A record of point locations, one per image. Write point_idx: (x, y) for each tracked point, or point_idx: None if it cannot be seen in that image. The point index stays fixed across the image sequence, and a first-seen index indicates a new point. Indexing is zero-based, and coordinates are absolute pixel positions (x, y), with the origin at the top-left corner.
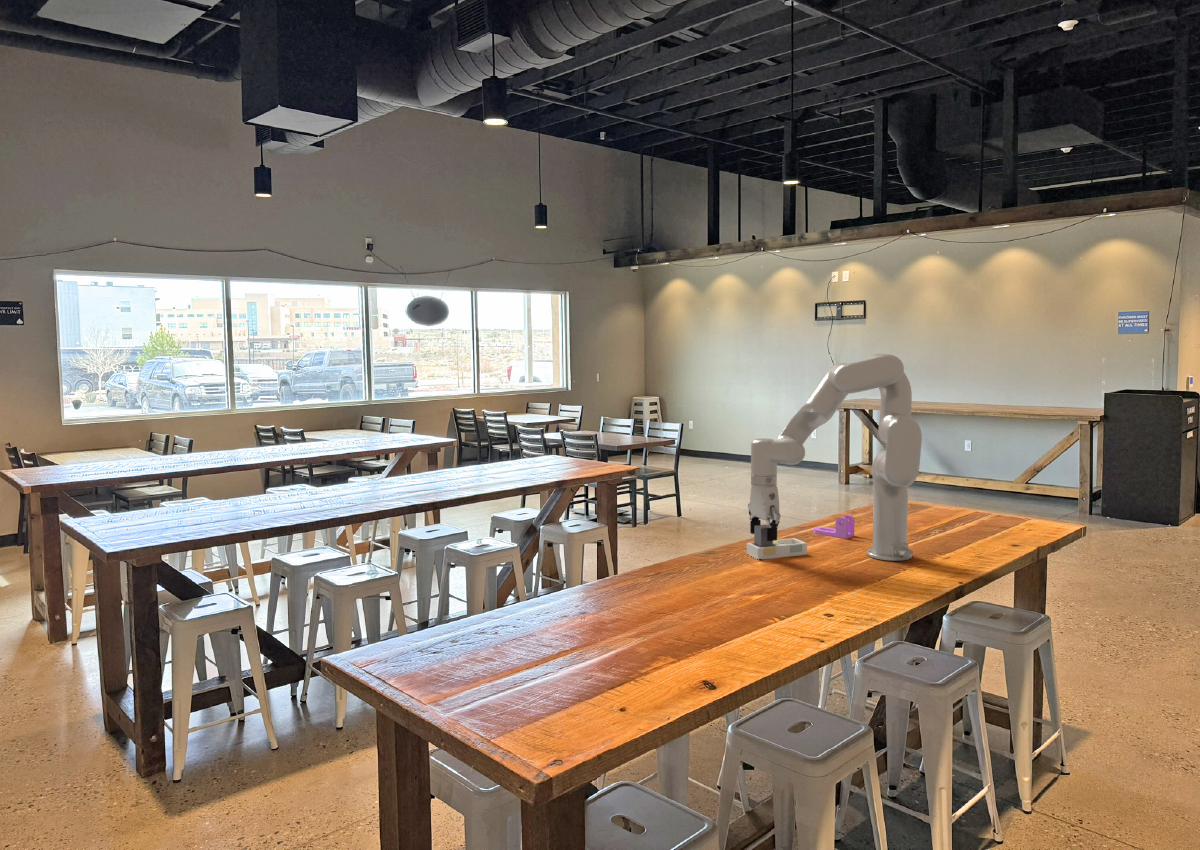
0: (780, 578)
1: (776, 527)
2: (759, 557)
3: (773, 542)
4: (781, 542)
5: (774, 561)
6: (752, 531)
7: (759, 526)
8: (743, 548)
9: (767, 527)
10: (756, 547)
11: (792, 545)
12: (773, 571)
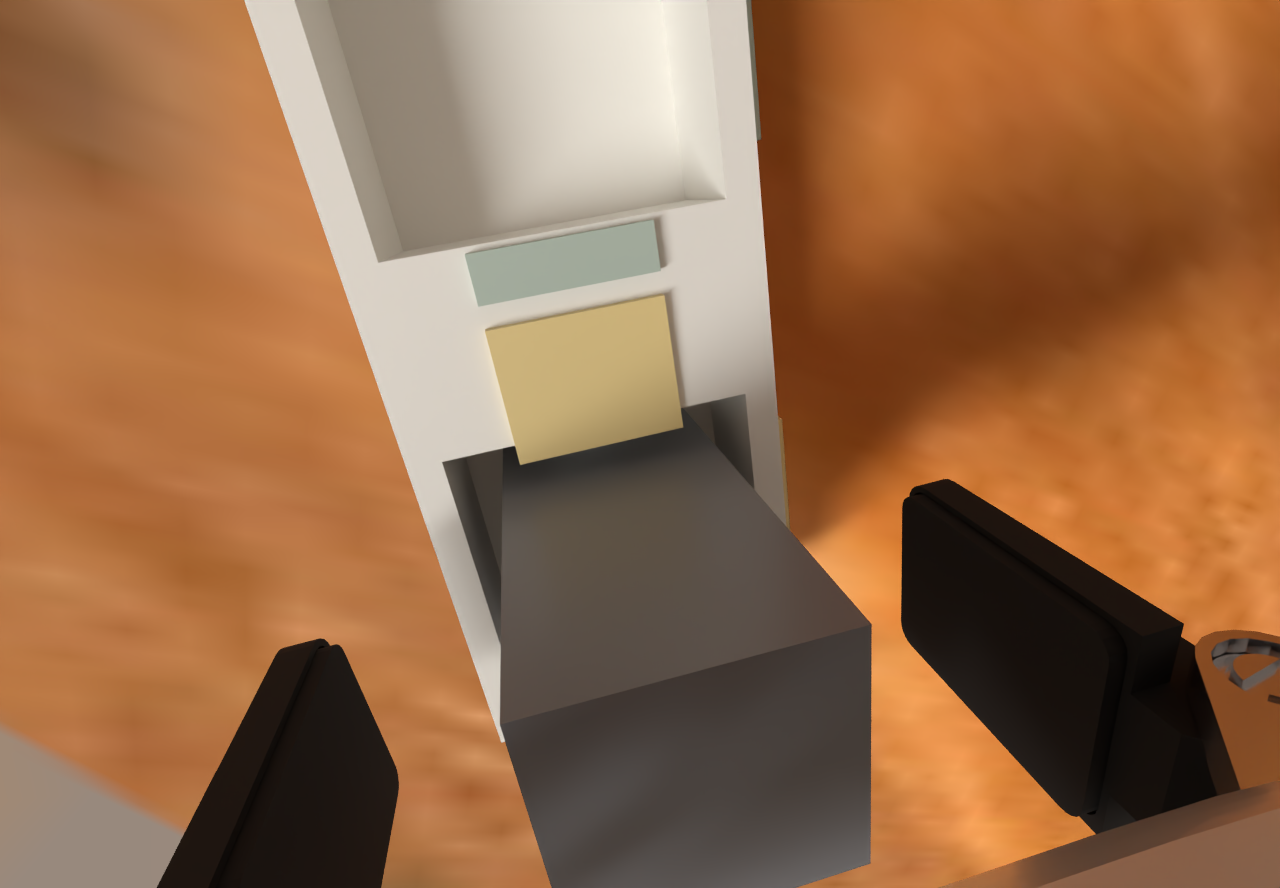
0: (1264, 520)
1: (1169, 636)
2: None
3: (572, 392)
4: (602, 251)
5: (838, 426)
6: (388, 805)
7: (692, 879)
8: (196, 626)
9: (838, 741)
10: None
11: (749, 84)
12: (1104, 524)
